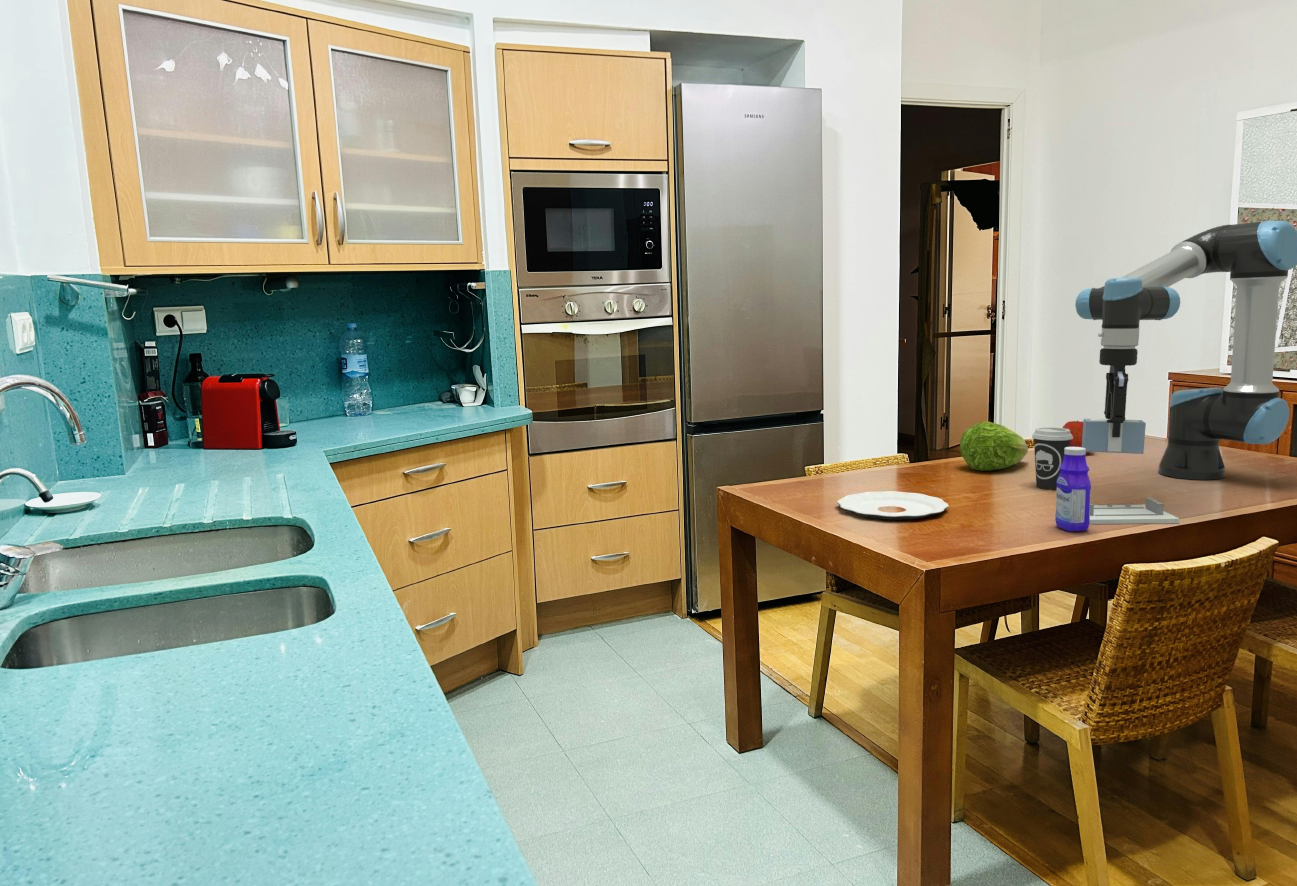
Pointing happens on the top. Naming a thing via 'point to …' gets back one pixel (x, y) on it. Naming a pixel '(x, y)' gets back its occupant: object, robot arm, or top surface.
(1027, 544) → the top surface
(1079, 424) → the apple
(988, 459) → the lettuce
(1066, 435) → the coffee cup
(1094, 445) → the frame block
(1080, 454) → the bottle
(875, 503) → the plate
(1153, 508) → the wall board
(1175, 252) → the robot arm
